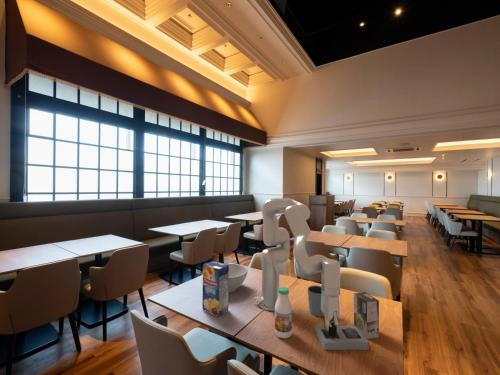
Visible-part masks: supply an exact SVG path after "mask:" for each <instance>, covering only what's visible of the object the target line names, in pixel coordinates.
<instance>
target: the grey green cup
mask: <svg viewBox="0 0 500 375" xmlns="http://www.w3.org/2000/svg"><path fill="white" fill-rule="evenodd" d="M321 290H322V285H313V284H312V285H310V286H308V287H307V298H308V299H307V300H308V311H309V314H311V315H313V316H315V317H324V314H323V312H322V311H321V295H322V292H321Z"/></svg>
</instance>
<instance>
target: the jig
mask: <svg viewBox="0 0 500 375" xmlns="http://www.w3.org/2000/svg"><path fill="white" fill-rule="evenodd" d="M315 333H316V335H317V337H318V339H319V342H320V343H321V346H322V348H323V350H324V351H347V350H348V351H352V350H353V351H366V350H367V351H369V344H370V343H369V341H368V339H367V338H365V337H364V336H363V335H362V334H361V332H360V331H359V330H358V328H357V327H356V326H354V325H338V326H337V336H336V338H335V339H329V338H327V337H326V336H325V328H324V325H316V326H315Z"/></svg>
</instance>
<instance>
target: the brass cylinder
mask: <svg viewBox="0 0 500 375" xmlns="http://www.w3.org/2000/svg"><path fill="white" fill-rule="evenodd" d="M324 319H325V338H326V339H336V336H329V326H330V325H329V321H328V320H327V319H326V317H325V318H324ZM333 322H334V321H331V323H333Z"/></svg>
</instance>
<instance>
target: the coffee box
mask: <svg viewBox="0 0 500 375" xmlns="http://www.w3.org/2000/svg"><path fill="white" fill-rule="evenodd" d="M379 302H380V300H379V299H377V298H375V297H373V296H372V295H370V294H369V293H367V292H366V291H363V292H357V293H356V292H354V293H353V326H356V327H357V328H358V330H359V331H360V332H361V334H362V335H363V336H364V337H365V339H366V340H368V339H369V340H370V339H376V338H379V336H380V335H379V334H380V332H379V330H380V328H379V327H380V323H379V322H380V319H379V317H380V312H379V310H380V303H379Z"/></svg>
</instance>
